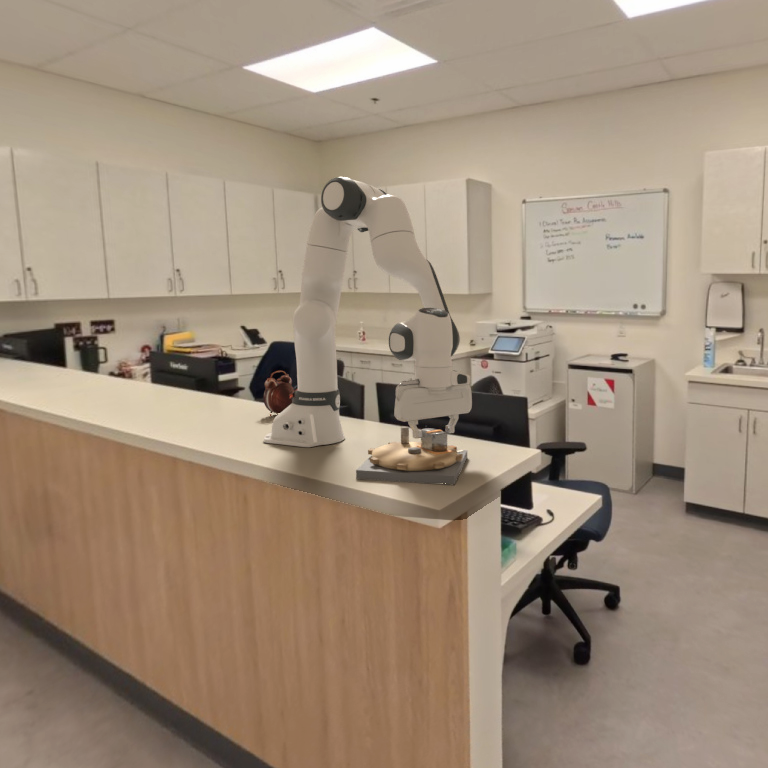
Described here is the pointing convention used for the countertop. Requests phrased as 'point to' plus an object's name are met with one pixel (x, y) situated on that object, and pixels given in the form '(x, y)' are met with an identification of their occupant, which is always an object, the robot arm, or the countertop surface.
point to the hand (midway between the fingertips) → (433, 435)
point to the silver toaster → (434, 440)
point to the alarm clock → (278, 393)
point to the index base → (412, 473)
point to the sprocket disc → (412, 455)
